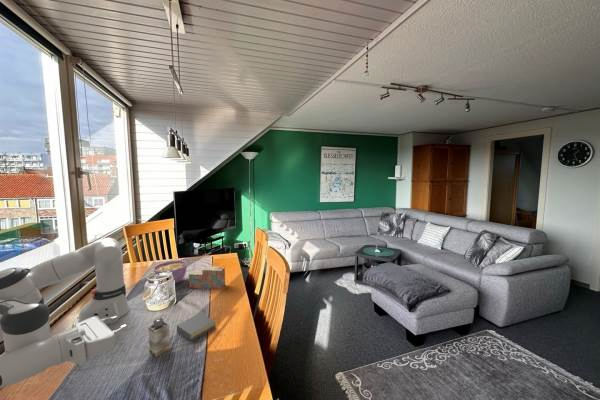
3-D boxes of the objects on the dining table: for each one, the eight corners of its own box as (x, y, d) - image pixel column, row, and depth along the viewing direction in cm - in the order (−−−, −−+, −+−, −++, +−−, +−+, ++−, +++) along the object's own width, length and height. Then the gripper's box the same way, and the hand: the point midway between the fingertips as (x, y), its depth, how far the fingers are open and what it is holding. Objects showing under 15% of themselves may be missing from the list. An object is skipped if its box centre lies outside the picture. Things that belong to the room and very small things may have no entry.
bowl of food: (189, 274, 178) (188, 259, 177) (187, 286, 159) (186, 268, 158) (157, 278, 171) (156, 262, 170) (151, 291, 152) (150, 273, 151)
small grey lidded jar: (156, 356, 97) (154, 331, 96) (149, 350, 100) (147, 326, 99) (171, 348, 102) (169, 324, 101) (164, 342, 105) (162, 319, 104)
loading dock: (191, 341, 106) (191, 335, 105) (176, 331, 113) (176, 324, 113) (215, 327, 115) (215, 321, 115) (200, 318, 123) (200, 313, 122)
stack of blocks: (189, 288, 156) (188, 269, 155) (194, 284, 163) (193, 266, 161) (221, 289, 155) (221, 270, 153) (225, 284, 161) (224, 266, 160)
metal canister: (154, 331, 98) (154, 323, 97) (153, 327, 100) (152, 320, 100) (164, 328, 100) (163, 320, 100) (162, 324, 103) (162, 316, 102)
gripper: (64, 340, 85) (112, 320, 96) (81, 366, 73) (134, 341, 84) (62, 322, 84) (111, 305, 95) (78, 346, 72) (132, 323, 83)
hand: (122, 322), depth 89 cm, fingers open, 8 cm apart
